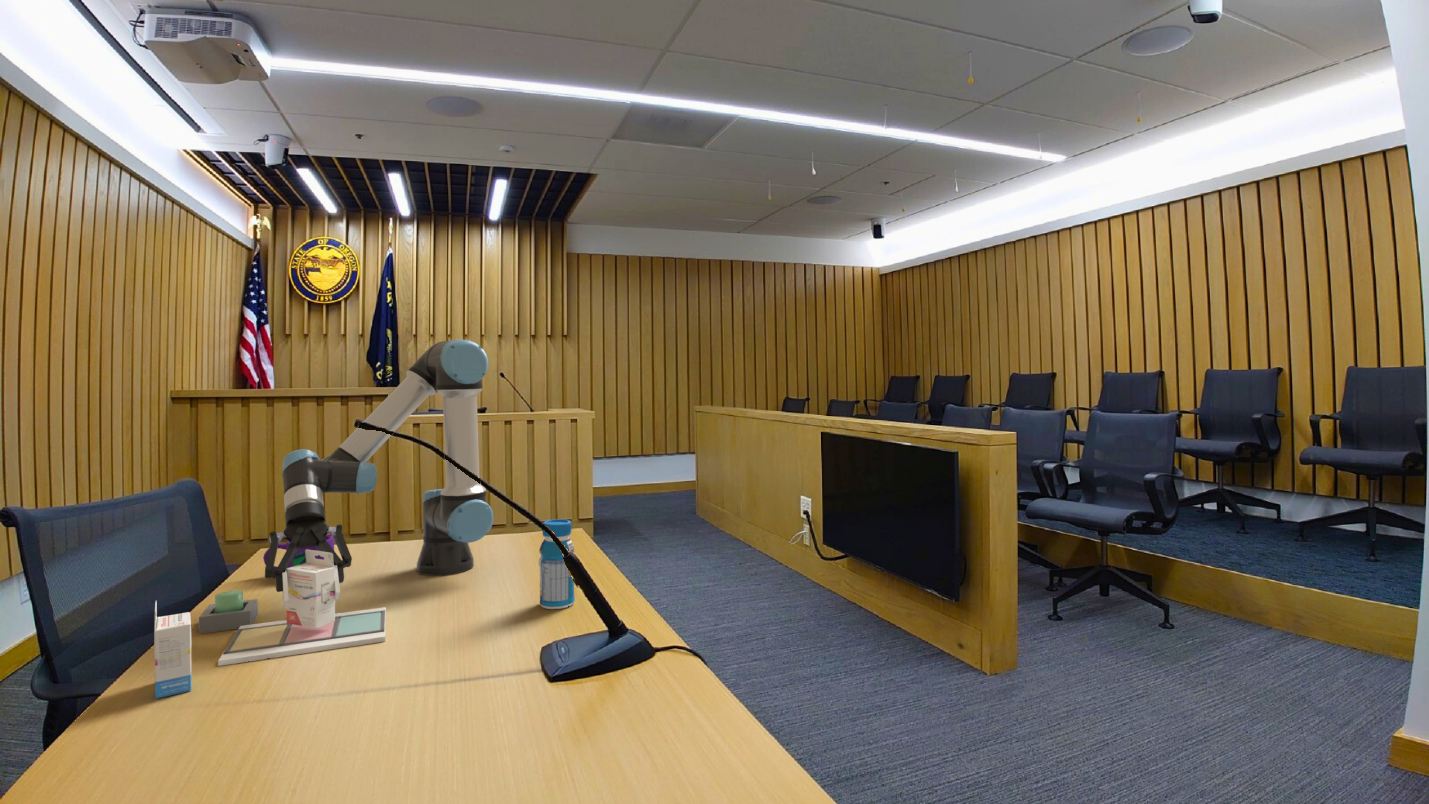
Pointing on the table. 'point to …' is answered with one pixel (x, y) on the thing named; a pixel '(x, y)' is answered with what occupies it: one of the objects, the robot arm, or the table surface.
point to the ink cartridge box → (312, 591)
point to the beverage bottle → (555, 567)
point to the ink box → (172, 654)
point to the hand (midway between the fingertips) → (312, 599)
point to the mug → (300, 552)
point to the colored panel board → (304, 637)
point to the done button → (229, 601)
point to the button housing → (227, 618)
